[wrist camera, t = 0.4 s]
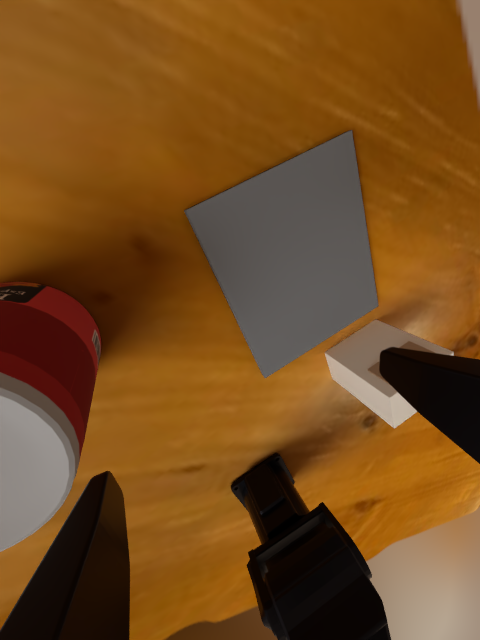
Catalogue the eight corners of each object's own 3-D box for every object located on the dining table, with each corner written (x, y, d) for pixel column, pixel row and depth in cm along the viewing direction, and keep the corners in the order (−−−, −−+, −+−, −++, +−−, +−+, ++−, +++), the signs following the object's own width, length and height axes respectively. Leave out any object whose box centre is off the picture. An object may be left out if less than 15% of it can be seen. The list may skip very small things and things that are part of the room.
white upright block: (380, 346, 31) (453, 384, 24) (332, 378, 30) (394, 428, 23) (375, 318, 29) (453, 350, 22) (324, 351, 28) (389, 396, 21)
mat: (373, 304, 28) (378, 305, 27) (262, 374, 26) (265, 378, 25) (346, 132, 20) (351, 129, 20) (183, 210, 18) (185, 210, 17)
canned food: (32, 252, 16) (-116, 310, 6) (128, 342, 20) (127, 461, 10) (-82, 332, 15) (-444, 534, 6) (40, 408, 19) (-48, 602, 9)
